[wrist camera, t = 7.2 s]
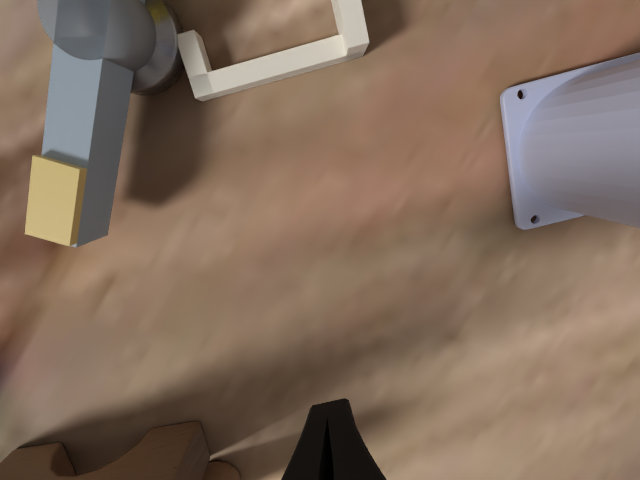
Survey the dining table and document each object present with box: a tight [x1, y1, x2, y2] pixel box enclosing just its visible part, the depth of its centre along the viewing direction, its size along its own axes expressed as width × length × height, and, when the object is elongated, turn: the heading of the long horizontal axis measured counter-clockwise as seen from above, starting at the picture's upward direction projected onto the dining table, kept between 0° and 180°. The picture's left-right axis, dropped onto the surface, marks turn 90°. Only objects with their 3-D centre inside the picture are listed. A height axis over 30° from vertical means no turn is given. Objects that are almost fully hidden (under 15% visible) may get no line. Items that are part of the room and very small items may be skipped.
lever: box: [25, 0, 156, 247], centre depth 15 cm, size 4×20×3 cm, turn 163°
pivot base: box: [131, 0, 184, 95], centre depth 17 cm, size 5×5×2 cm
